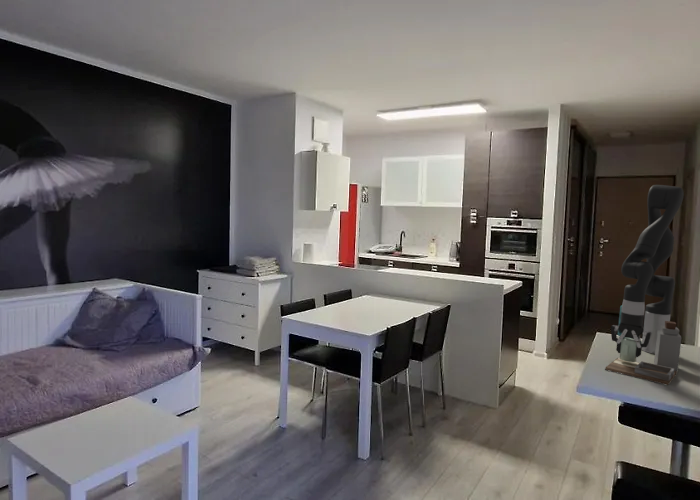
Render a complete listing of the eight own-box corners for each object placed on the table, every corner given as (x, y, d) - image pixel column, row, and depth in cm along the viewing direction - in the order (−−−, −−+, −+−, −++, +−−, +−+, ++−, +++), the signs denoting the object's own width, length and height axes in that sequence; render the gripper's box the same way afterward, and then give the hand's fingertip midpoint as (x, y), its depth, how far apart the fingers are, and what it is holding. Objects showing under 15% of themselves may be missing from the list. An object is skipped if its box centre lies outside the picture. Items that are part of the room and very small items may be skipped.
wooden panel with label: (617, 360, 191) (618, 352, 191) (676, 373, 177) (677, 366, 177) (605, 369, 178) (606, 361, 178) (668, 385, 165) (669, 376, 165)
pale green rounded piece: (637, 360, 184) (639, 339, 183) (632, 364, 178) (634, 343, 177) (621, 356, 188) (623, 336, 187) (616, 360, 182) (618, 340, 181)
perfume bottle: (674, 366, 186) (679, 321, 184) (677, 371, 180) (682, 325, 178) (654, 363, 189) (658, 319, 187) (656, 368, 183) (661, 322, 181)
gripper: (656, 314, 180) (651, 357, 182) (614, 307, 190) (610, 348, 191) (652, 317, 174) (647, 361, 176) (609, 309, 184) (605, 352, 186)
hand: (628, 354), depth 184 cm, fingers closed on pale green rounded piece, 5 cm apart
